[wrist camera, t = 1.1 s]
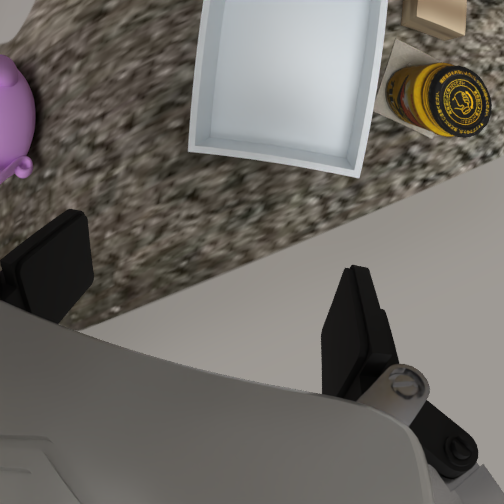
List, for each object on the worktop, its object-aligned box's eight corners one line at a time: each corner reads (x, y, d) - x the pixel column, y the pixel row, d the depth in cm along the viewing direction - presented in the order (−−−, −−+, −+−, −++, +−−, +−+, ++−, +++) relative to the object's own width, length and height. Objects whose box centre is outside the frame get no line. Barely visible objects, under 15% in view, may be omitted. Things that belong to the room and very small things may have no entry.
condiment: (371, 110, 29) (408, 122, 18) (395, 38, 24) (442, 17, 14) (431, 139, 29) (488, 167, 18) (455, 70, 24) (519, 70, 14)
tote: (227, -43, 22) (214, -63, 17) (377, -23, 21) (390, -41, 16) (205, 141, 32) (187, 151, 28) (350, 164, 31) (359, 178, 27)
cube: (404, -14, 21) (419, -28, 17) (446, 2, 21) (466, -8, 16) (400, 25, 24) (416, 16, 19) (443, 40, 23) (464, 35, 19)
